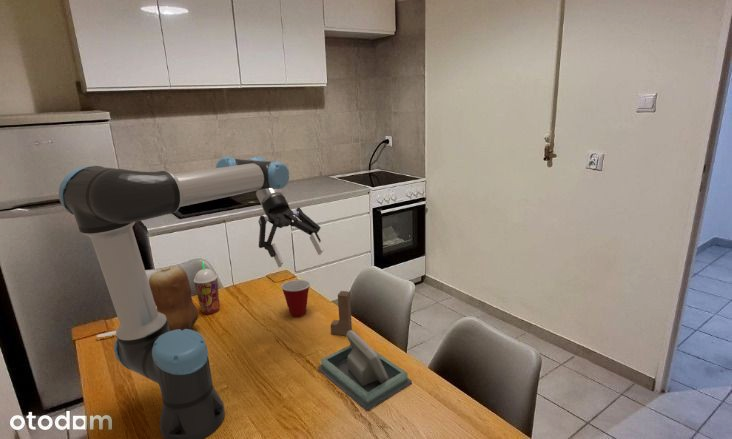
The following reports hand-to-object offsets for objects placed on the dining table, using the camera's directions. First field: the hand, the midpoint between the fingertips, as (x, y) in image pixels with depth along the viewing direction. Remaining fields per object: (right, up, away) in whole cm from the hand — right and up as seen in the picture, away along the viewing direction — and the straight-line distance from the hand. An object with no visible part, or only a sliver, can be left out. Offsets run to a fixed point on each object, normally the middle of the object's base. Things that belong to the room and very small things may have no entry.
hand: (301, 258), depth 125 cm
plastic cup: (-6, -24, +33) cm, 41 cm away
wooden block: (+11, -27, +19) cm, 35 cm away
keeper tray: (+18, -33, -4) cm, 38 cm away
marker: (-65, -29, +25) cm, 75 cm away
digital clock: (+19, -33, -4) cm, 38 cm away
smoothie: (-41, -24, +38) cm, 60 cm away
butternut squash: (-45, -29, +22) cm, 58 cm away
